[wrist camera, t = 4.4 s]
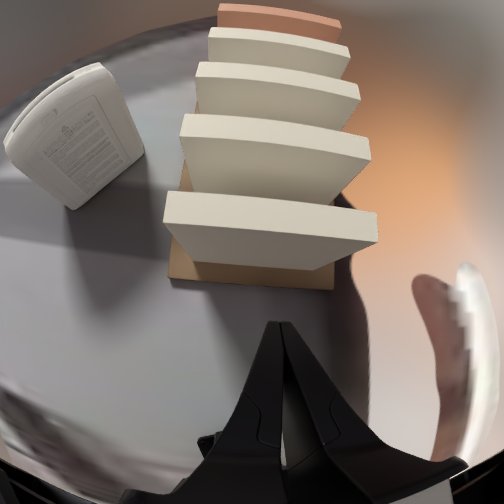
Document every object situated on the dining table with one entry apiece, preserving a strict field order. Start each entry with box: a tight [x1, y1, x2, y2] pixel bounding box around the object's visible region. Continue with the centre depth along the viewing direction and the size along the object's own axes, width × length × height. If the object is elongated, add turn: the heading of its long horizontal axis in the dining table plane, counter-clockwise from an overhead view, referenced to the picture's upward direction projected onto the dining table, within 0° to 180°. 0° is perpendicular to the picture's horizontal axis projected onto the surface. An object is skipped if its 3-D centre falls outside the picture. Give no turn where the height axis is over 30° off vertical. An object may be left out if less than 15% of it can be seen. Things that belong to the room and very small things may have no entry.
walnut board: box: [167, 101, 335, 290], centre depth 25 cm, size 24×14×1 cm, turn 176°
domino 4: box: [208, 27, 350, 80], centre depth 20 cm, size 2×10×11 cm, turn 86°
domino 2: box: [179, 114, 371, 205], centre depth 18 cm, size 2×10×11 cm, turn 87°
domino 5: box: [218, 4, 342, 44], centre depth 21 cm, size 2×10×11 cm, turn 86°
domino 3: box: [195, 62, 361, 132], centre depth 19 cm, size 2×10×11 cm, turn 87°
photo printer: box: [3, 63, 144, 210], centre depth 18 cm, size 10×4×12 cm, turn 131°
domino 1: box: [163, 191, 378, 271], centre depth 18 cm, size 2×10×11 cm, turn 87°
